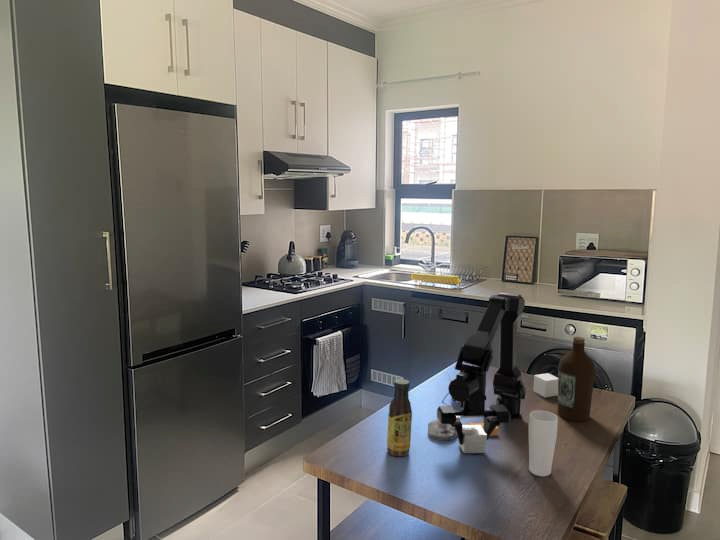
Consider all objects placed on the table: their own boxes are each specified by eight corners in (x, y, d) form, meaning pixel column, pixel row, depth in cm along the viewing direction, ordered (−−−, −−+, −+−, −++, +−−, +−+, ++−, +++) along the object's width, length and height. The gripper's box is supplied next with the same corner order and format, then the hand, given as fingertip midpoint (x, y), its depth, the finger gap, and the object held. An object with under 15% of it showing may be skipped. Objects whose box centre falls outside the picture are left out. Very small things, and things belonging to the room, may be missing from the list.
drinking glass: (553, 467, 136) (557, 412, 134) (554, 481, 130) (558, 423, 127) (526, 462, 138) (529, 408, 136) (525, 476, 132) (528, 419, 130)
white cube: (547, 389, 189) (548, 373, 188) (558, 395, 183) (560, 378, 182) (533, 391, 187) (534, 375, 186) (544, 397, 181) (545, 380, 180)
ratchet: (491, 426, 159) (492, 409, 158) (500, 438, 151) (501, 420, 151) (425, 427, 158) (425, 410, 157) (430, 440, 150) (431, 422, 149)
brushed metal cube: (479, 441, 148) (480, 424, 147) (486, 452, 142) (486, 434, 141) (458, 442, 147) (458, 425, 147) (463, 453, 141) (464, 435, 141)
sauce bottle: (394, 460, 139) (396, 387, 136) (382, 449, 145) (383, 379, 141) (415, 454, 142) (417, 383, 139) (402, 444, 148) (404, 375, 144)
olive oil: (573, 406, 174) (579, 332, 170) (599, 419, 164) (606, 341, 160) (547, 411, 170) (553, 335, 166) (572, 425, 160) (579, 345, 156)
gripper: (498, 377, 151) (496, 429, 153) (433, 378, 149) (431, 431, 152) (512, 392, 140) (509, 448, 142) (442, 394, 138) (440, 450, 141)
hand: (472, 443), depth 145 cm, fingers closed on brushed metal cube, 6 cm apart
